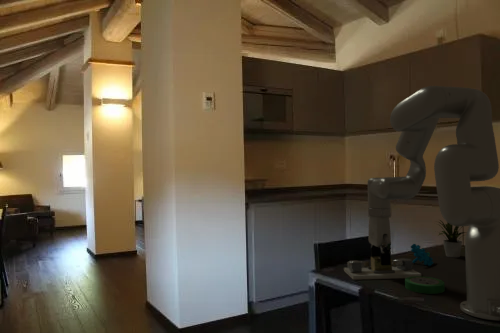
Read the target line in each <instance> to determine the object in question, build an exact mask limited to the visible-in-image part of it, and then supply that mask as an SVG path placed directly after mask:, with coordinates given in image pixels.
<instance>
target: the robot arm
mask: <svg viewBox="0 0 500 333" xmlns="http://www.w3.org/2000/svg"><path fill="white" fill-rule="evenodd" d="M492 109H493V108H492V103H491V101H490V97H488V95H487V94H486V93H485V92H483V91H482V90H480V89H476V88H472V87H463V86H462V87H460V86H441V85H439V86H438V85H428V86H425V87H424V86H423V87H422V88H420V89H419V90H417V91H416V92H414V93H413V94H411V95H409V96H407V97H406V98H405V99H403V100H401V101H400V102H399V103H397V105H395V106H394V108H393V109H392V111H391V113H390V117H389V123H390V126H391V128H392V129H393V130H395V132H400V135H399V137H398V140H397V143H396V145H395V150H396V152H397V153H398V155H399V156H401V157H403V158H405V159H406V160H408V161H410V163H409V168H408V171H407V173H406V176H387V177H386V176H385V177H371V178H369V179H367V206H368V207H367V210H368V211H367V212H368V214H367V215H368V216H367V217H368V218H369V219H368V236H367V237H368V243H369V244H370V251H371V252H370V253H371V255H370V258H371V257H380V256H381V265H391V259H392V257H391V256H392V255H391V253H392V251H391V250H392V247H391V245H392V236H391V234H392V233H391V223H390V218H391V217H392V216H391V214H392V211H391V209H392V208H391V207H392V206H391V201H392V200H395V201H396V200H407V199H408V200H410V199H412V198H414V197H416V196H417V195H418V193H419V192H420V190H421V188H422V186H423V184H424V183H425V179H426V176H427V166H426V162H425V159H424V155H425V152H426V149H427V147H428V145H429V142H430V141H431V138H432V136H433V133H434V131H435V130H436V127H437V125H438V123H439V120H440V119H458V121H457V124H456V129H455V136H456V142H457V143H455V144H454V143H453V144H448V145H445V146H443V147H442V148H441V149H440V150H439V151H438V152H437V154H436V157H435V160H434V167H433V170H434V178H435V186H436V193H437V199H438V206H439V207H438V208H439V211H440V214H441V215H442V217H443V220H445V221H446V223H447V222H448V223H449V224H451V225H453V226H454V227H455V226H459V227H462V226H463V227H468V228H467V231H466V232H467V233H465V240H464V242H465V244H464V246H465V247H464V248H465V249H464V251H465V252H464V255H465V281H466V282H465V283H466V284H465V285H466V287H465V288H466V300H463V301H462V302H461V303H459V307H460V310H461V311H462V312H463V313H464V314H467V315H469V316H470V317H475V318H478V319H483V320H489V321H499V322H500V188H499V187H496V186H487V185H486V186H471V184H472V183H471V182H473V183H474V182H485V181H489V180H492V179H493V178H495V177H496V176H497V174H498V172H499V168H500V166H499V157H498V151H497V145H496V144H497V143H496V138H495V132H494V126H493V110H492Z"/></svg>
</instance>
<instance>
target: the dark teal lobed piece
mask: <svg viewBox="0 0 500 333" xmlns="http://www.w3.org/2000/svg"><path fill="white" fill-rule="evenodd" d="M410 248H411V249H410V251H411V252H412V253H413V256H414V257H415V258H414V259H413V260H412V262H413V263H414V264H415V263H417V262H418V261H419V262H420V263H421V262H422V263H423V264H424V266H428V267H432V265H434V261H433V260H434V259H433V257H430V255H431V253H430V252H429V251H428V252H426V249H425V248H424V247H423V248H421V245H419V244H416V243H413V244H412V245H411V246H410Z"/></svg>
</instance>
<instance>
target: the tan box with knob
mask: <svg viewBox="0 0 500 333" xmlns="http://www.w3.org/2000/svg"><path fill="white" fill-rule="evenodd" d="M392 260H393V258H391V265H381V256H380V257H371V256H370V266H371V270H372V271H376V270H392Z"/></svg>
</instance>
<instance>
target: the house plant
mask: <svg viewBox="0 0 500 333" xmlns="http://www.w3.org/2000/svg"><path fill="white" fill-rule="evenodd" d="M435 222H436V223H437V225H438V226H439V227H441V228H442V231H435V232H437V233H439V234H438V235H437V237H439V236H442V235H443V237H444V238H445V239H443V240H442V242H443V243H442V244H443V248H444V251H445V257H448V258H460V257H461V250H462V244H463V241H462V240H460V239H461V238H462V237H464V236H465V234H467V231H462V232H460V230H461V229H462V228H463V227H464V226H454V228H453V225H451V224H449V223H448V222H447V221H446V223H444V222H443V220H441V219H439V221H437V220H435ZM459 227H460V228H459ZM461 235H462V236H461ZM458 237H459V238H458Z"/></svg>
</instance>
